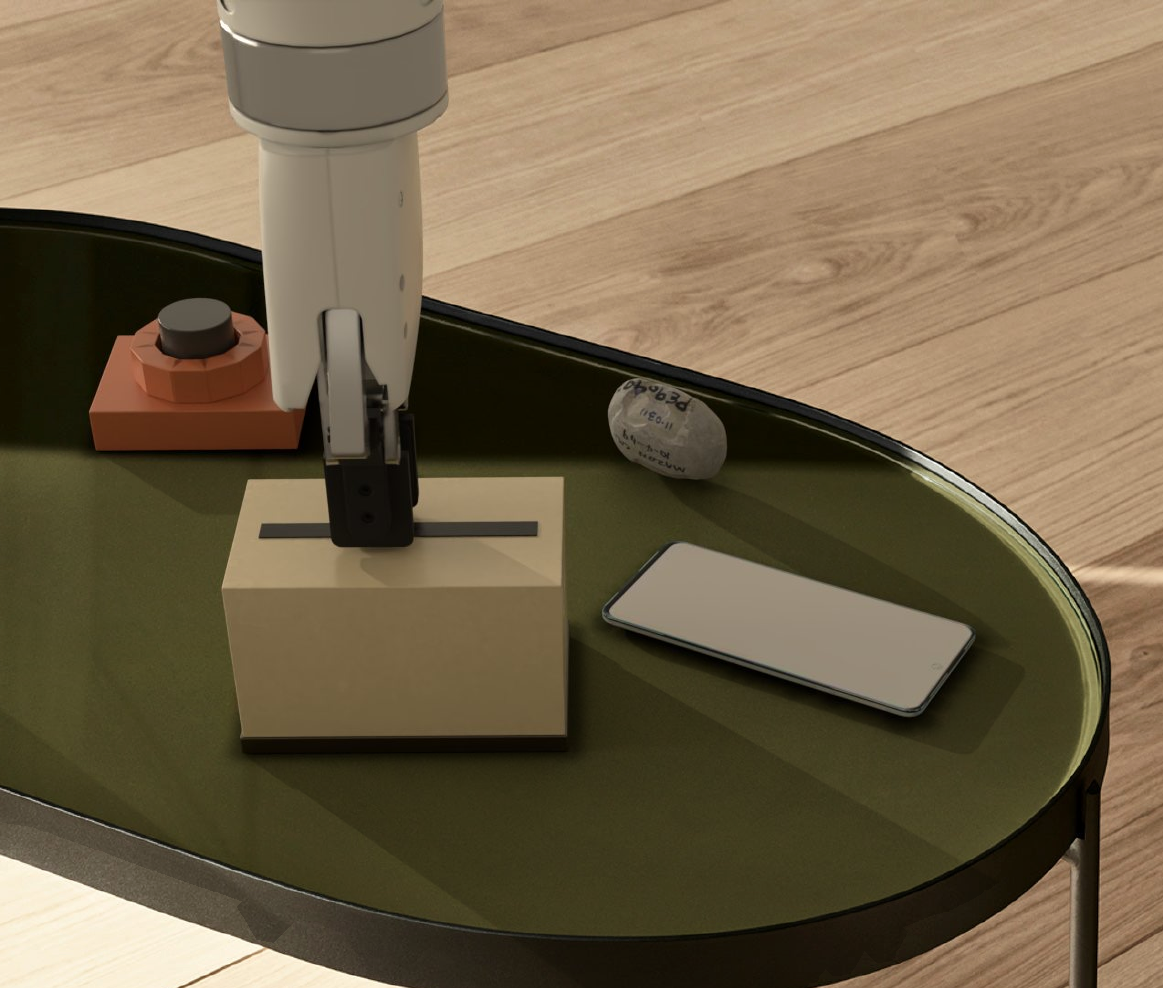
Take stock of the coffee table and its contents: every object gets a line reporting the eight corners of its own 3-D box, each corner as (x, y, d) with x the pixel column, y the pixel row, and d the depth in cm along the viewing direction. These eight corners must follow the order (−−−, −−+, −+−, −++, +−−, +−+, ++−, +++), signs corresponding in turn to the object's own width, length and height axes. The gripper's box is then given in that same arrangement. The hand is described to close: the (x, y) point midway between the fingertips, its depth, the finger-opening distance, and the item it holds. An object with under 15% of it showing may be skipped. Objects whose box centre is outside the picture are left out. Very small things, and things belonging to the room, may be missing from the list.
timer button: (157, 363, 104) (152, 331, 102) (168, 329, 106) (163, 297, 105) (230, 363, 103) (225, 330, 102) (239, 329, 106) (235, 297, 105)
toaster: (242, 754, 85) (217, 588, 80) (266, 636, 92) (245, 476, 87) (567, 751, 85) (564, 585, 80) (569, 634, 92) (566, 473, 86)
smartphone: (671, 537, 96) (980, 628, 90) (670, 547, 97) (979, 638, 91) (596, 613, 92) (917, 714, 86) (596, 623, 92) (916, 725, 86)
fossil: (740, 480, 101) (743, 387, 98) (706, 513, 99) (708, 419, 96) (624, 446, 104) (624, 354, 101) (589, 477, 102) (587, 385, 98)
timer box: (95, 451, 104) (82, 379, 102) (123, 373, 110) (111, 303, 108) (297, 449, 104) (289, 377, 101) (314, 371, 110) (306, 301, 108)
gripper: (255, -16, 78) (303, 424, 89) (191, 159, 65) (256, 642, 77) (458, -18, 78) (480, 422, 89) (432, 157, 65) (461, 641, 77)
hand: (376, 520), depth 83 cm, fingers closed
